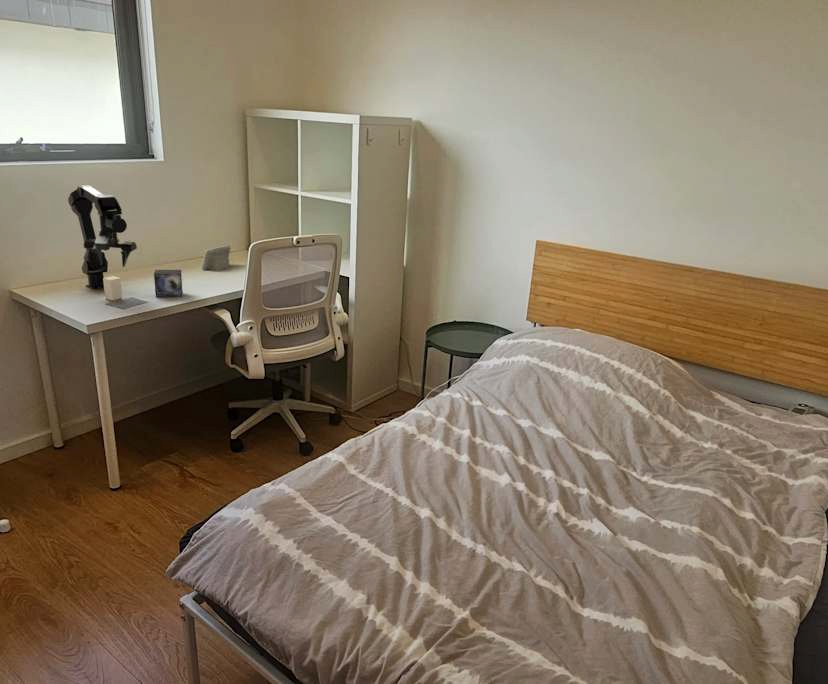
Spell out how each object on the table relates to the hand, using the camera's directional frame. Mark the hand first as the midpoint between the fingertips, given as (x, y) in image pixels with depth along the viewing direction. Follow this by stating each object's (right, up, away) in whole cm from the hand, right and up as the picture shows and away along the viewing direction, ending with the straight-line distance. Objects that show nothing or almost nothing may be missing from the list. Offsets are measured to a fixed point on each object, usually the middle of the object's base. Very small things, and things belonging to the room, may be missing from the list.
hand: (112, 265), depth 248 cm
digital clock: (+24, +6, +58) cm, 63 cm away
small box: (+19, -11, +11) cm, 25 cm away
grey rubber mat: (+7, -15, -2) cm, 17 cm away
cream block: (0, -14, +1) cm, 14 cm away
